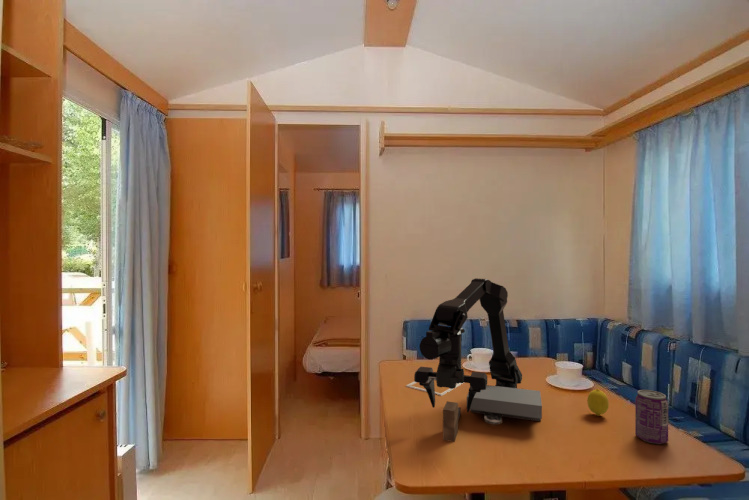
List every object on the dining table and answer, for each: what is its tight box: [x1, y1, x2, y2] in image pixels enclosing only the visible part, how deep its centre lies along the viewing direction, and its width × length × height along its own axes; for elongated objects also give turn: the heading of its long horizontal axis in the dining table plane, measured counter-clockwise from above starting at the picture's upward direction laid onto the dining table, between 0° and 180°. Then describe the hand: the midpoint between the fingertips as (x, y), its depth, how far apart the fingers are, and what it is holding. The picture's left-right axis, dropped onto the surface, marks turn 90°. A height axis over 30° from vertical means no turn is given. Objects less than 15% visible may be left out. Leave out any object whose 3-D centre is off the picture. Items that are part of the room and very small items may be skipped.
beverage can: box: [634, 389, 669, 445], centre depth 106 cm, size 7×7×12 cm
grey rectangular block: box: [466, 384, 543, 422], centre depth 119 cm, size 20×12×8 cm, turn 70°
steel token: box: [483, 413, 503, 425], centre depth 118 cm, size 5×5×2 cm
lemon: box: [587, 388, 610, 417], centre depth 121 cm, size 6×6×8 cm
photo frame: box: [405, 379, 463, 397], centre depth 149 cm, size 15×1×18 cm
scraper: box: [442, 401, 462, 442], centre depth 114 cm, size 3×18×8 cm, turn 160°
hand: (450, 409), depth 109 cm, fingers open, 9 cm apart
